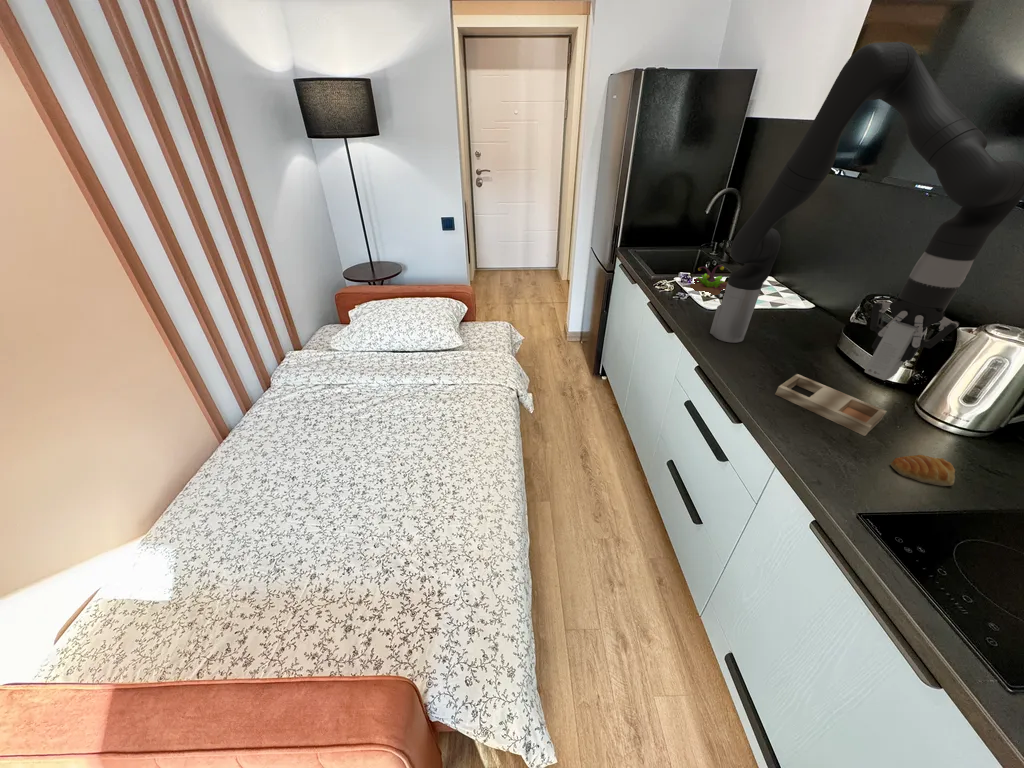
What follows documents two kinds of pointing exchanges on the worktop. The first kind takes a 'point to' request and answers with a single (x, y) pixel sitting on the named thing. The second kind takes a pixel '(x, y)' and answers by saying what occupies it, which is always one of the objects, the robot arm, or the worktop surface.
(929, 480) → the pastry
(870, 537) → the worktop surface
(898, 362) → the skincare box
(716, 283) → the plant
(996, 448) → the worktop surface
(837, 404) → the wooden compartment tray
